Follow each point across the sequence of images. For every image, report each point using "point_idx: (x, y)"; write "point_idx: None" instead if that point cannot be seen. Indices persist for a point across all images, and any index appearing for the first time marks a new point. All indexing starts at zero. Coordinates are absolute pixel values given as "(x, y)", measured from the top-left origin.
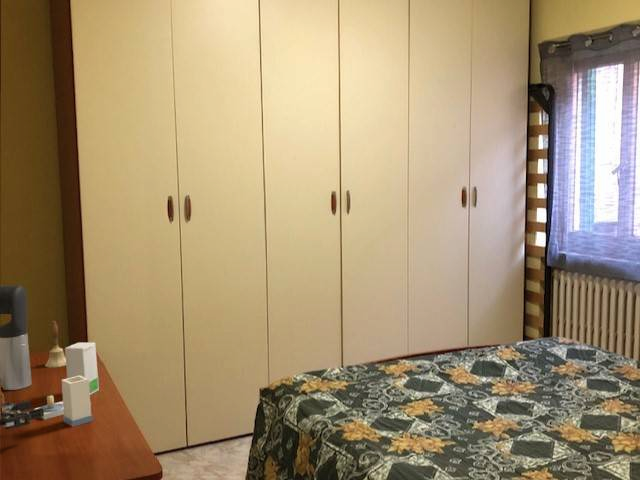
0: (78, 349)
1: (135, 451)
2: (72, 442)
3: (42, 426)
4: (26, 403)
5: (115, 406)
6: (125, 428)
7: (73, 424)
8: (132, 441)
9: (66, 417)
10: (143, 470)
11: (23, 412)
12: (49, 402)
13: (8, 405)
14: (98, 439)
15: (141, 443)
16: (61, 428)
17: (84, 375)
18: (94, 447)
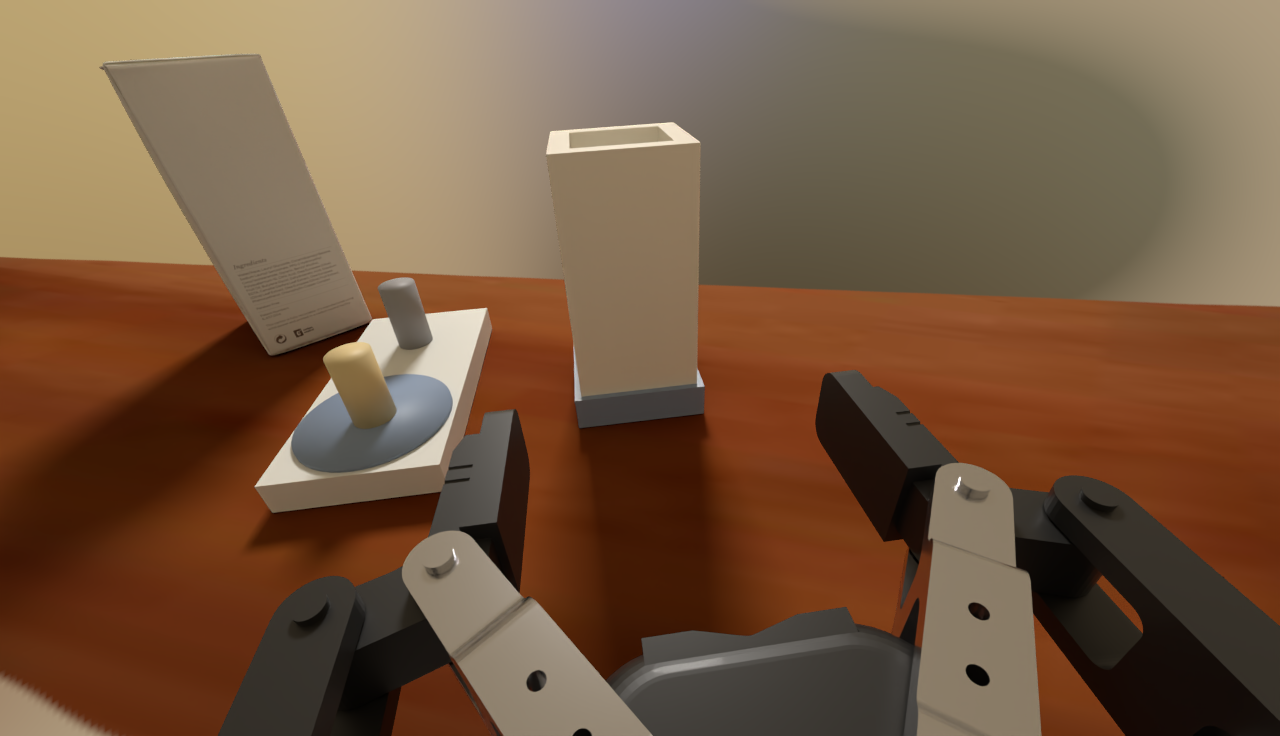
0: (229, 62)
1: (1165, 321)
2: (978, 457)
3: (562, 526)
4: (512, 444)
5: None
6: (852, 304)
7: (702, 400)
8: (1027, 311)
9: (620, 393)
10: None
11: (967, 517)
12: (372, 387)
13: (537, 629)
14: (963, 374)
15: (1059, 300)
16: (689, 454)
17: (328, 218)
18: (1092, 402)
